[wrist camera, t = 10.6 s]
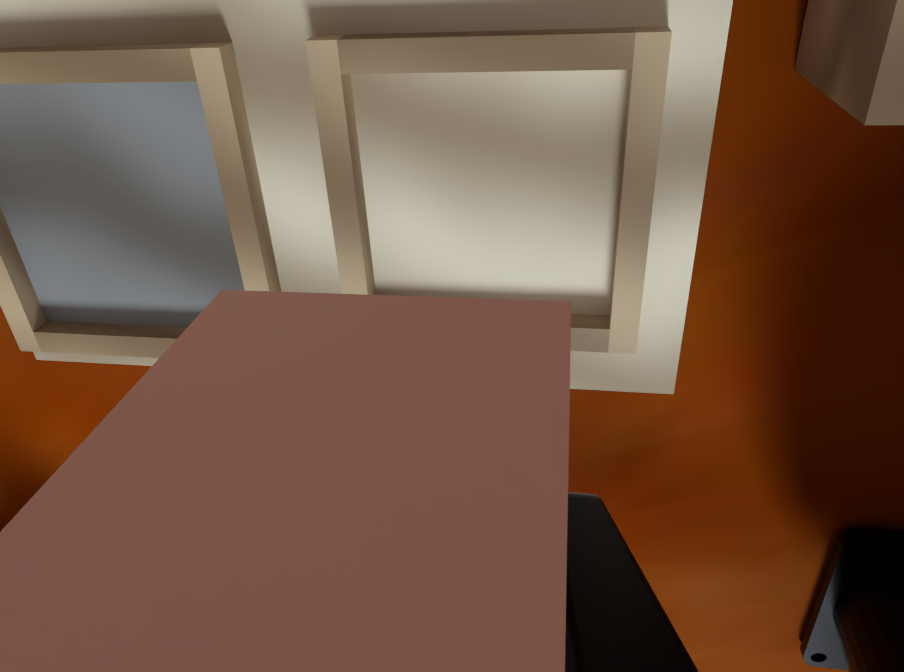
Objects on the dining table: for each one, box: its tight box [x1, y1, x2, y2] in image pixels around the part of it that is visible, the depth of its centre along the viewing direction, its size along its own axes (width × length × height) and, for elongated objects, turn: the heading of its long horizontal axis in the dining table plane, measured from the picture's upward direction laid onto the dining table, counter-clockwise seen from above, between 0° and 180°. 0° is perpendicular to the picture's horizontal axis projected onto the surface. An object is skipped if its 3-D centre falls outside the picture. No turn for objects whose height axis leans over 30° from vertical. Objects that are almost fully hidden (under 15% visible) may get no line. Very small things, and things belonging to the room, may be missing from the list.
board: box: [0, 0, 733, 394], centre depth 14 cm, size 16×20×7 cm
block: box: [0, 290, 571, 672], centre depth 7 cm, size 4×4×5 cm
